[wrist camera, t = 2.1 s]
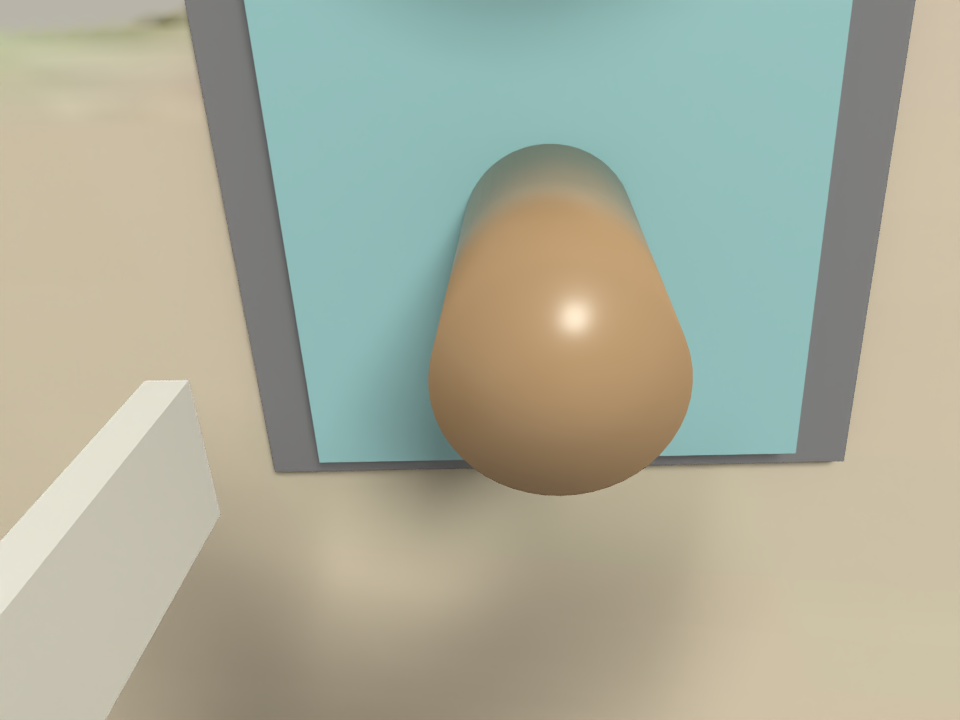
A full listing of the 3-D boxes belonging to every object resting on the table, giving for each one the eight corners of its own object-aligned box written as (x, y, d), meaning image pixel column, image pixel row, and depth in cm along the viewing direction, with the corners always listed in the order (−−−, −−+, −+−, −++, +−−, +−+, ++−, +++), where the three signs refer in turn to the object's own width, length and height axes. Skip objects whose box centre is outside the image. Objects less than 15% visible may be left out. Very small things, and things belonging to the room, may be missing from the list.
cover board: (325, 447, 30) (226, 692, 20) (246, -56, 23) (34, -56, 13) (787, 437, 29) (922, 692, 19) (850, -94, 22) (1116, -126, 12)
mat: (279, 462, 31) (274, 471, 31) (175, -91, 23) (167, -92, 23) (837, 451, 30) (843, 461, 29) (927, -141, 22) (938, -143, 21)
